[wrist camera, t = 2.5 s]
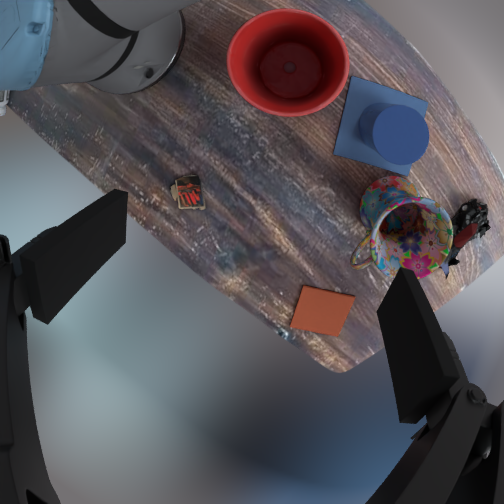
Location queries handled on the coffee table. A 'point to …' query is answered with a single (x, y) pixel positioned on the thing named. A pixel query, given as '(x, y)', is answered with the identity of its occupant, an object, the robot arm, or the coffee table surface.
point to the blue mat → (356, 103)
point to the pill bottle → (3, 101)
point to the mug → (403, 229)
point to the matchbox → (189, 192)
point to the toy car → (466, 229)
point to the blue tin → (394, 132)
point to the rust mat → (321, 310)
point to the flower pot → (287, 62)
